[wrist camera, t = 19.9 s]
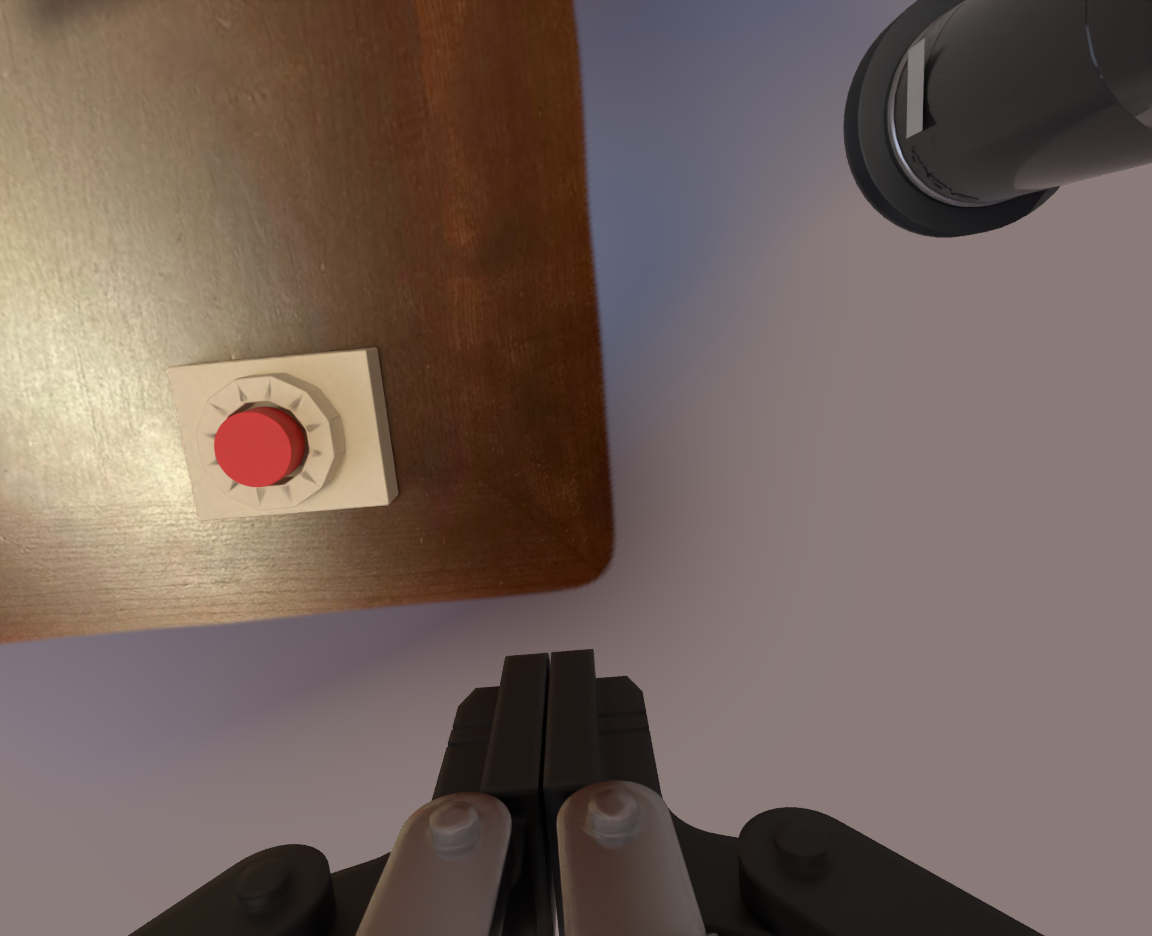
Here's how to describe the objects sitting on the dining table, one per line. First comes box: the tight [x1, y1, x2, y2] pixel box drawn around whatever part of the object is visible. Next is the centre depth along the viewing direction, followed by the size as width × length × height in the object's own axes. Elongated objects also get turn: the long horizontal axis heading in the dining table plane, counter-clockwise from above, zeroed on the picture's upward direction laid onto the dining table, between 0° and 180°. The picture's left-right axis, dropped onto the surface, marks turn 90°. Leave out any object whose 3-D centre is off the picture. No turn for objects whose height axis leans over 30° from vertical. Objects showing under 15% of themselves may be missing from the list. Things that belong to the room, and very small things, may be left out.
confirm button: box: [214, 406, 305, 487], centre depth 34 cm, size 4×4×2 cm
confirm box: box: [166, 348, 398, 521], centre depth 36 cm, size 10×8×4 cm
